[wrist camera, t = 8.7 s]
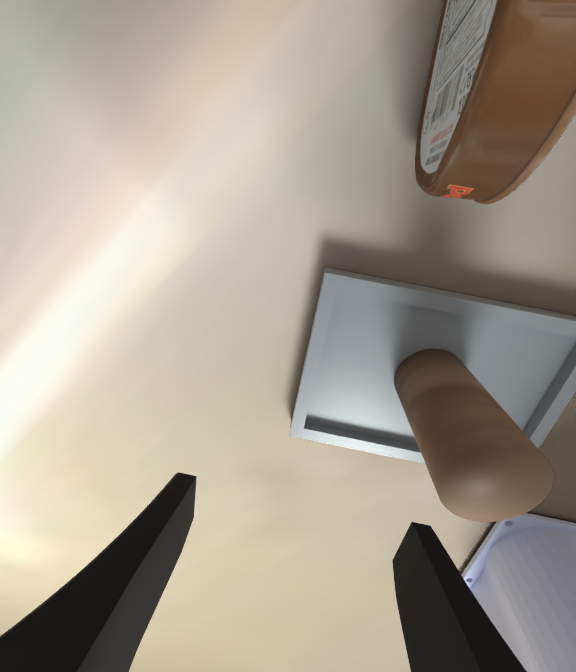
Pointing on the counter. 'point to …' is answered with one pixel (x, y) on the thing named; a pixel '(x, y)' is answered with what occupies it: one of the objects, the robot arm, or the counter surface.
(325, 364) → the tray
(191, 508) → the robot arm
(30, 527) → the counter surface
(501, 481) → the brown rounded cylinder
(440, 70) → the tin
